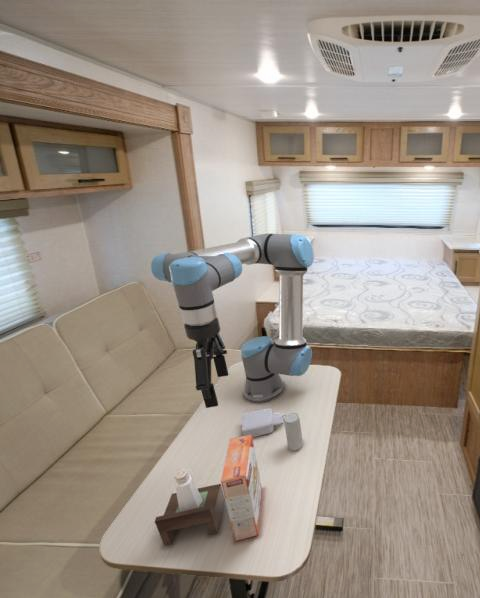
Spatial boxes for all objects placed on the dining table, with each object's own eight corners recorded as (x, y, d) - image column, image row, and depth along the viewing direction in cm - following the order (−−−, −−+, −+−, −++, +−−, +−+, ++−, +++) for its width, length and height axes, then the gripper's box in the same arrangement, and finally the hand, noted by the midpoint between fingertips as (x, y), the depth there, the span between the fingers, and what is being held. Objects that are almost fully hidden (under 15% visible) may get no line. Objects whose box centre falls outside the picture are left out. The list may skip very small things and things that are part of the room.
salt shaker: (204, 492, 91) (195, 461, 87) (201, 510, 87) (191, 478, 82) (181, 498, 90) (170, 467, 85) (176, 517, 85) (165, 485, 81)
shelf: (177, 509, 93) (169, 485, 90) (224, 498, 96) (218, 475, 93) (164, 546, 84) (154, 521, 81) (217, 533, 87) (209, 509, 84)
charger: (289, 430, 121) (243, 440, 116) (288, 413, 129) (245, 422, 124) (288, 419, 119) (241, 429, 114) (287, 403, 127) (243, 412, 122)
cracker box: (260, 535, 87) (247, 475, 79) (234, 542, 85) (218, 482, 77) (264, 488, 99) (252, 432, 91) (241, 493, 98) (228, 437, 90)
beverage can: (298, 452, 112) (294, 423, 107) (285, 450, 112) (280, 421, 108) (305, 441, 116) (301, 413, 111) (292, 439, 117) (288, 411, 112)
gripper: (197, 302, 95) (213, 366, 103) (166, 346, 73) (189, 424, 81) (227, 299, 97) (240, 363, 105) (204, 342, 75) (223, 418, 83)
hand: (218, 390), depth 93 cm, fingers open, 13 cm apart
